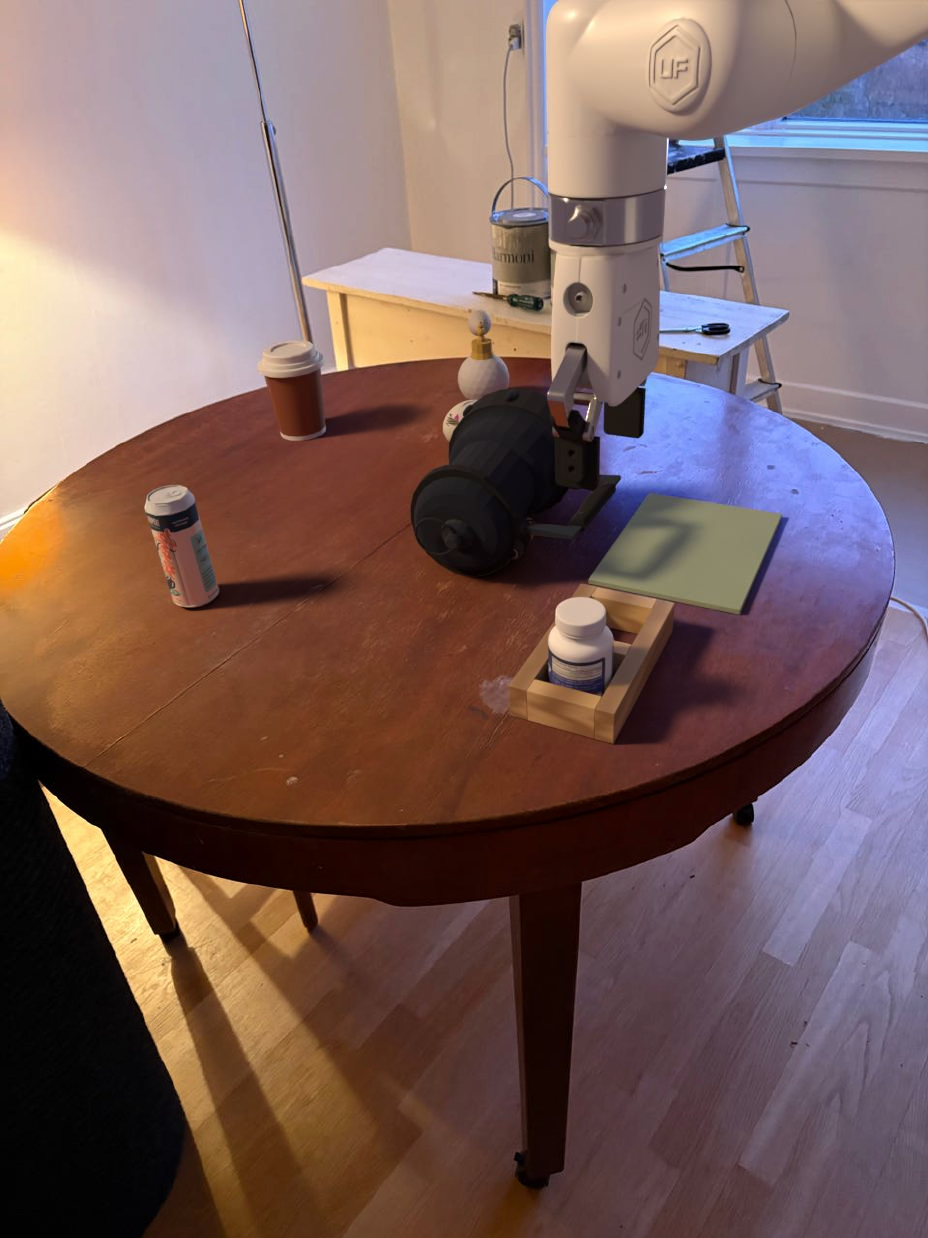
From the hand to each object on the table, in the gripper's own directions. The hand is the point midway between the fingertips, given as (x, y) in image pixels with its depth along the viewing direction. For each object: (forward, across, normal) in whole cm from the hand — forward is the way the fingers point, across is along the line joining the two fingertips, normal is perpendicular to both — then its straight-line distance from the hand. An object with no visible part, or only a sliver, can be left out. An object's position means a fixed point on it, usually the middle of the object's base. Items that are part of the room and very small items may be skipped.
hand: (601, 459), depth 68 cm
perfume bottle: (+19, +53, +39) cm, 68 cm away
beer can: (+19, -6, +42) cm, 46 cm away
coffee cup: (+19, +33, +57) cm, 69 cm away
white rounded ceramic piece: (+19, +36, +31) cm, 51 cm away
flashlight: (+20, +15, +15) cm, 29 cm away
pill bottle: (+20, -5, 0) cm, 20 cm away
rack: (+19, -2, 0) cm, 19 cm away
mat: (+19, +22, -2) cm, 29 cm away
